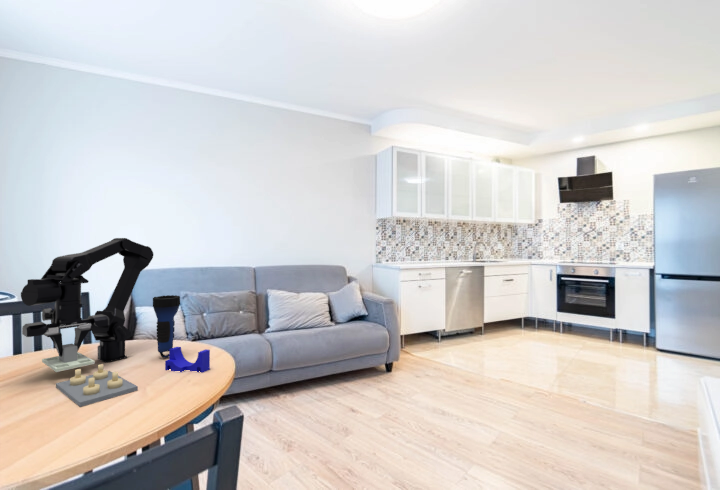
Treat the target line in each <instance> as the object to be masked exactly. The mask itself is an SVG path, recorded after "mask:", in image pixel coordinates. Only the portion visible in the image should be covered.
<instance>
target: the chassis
mask: <svg viewBox="0 0 720 490" xmlns="http://www.w3.org/2000/svg"><path fill="white" fill-rule="evenodd" d="M55 388H56V389H58V390H59V391H60V392H61V393H63V395H64V396H66V397H67V398H69V399H70V400H71V401H72V402H74V404H76V405H77V406H79V408H82V407H84V406H89V405H92V404H94V403H95V404H96V403H99V402H102V401H105V400H108V399H113V398H115V397H116V398H117V397H120V396H124V395H125V394H126V395H127V394H130V393H134V392H137V391H138V390H139V389H138V388H139V386H138V385H136V384H135V383H132V382H130V381H128V379H125V378H123V377H121V376H119V372H118V371H114V372H112V371H111V370H106V369H104V363H101V364H98V365H97V371H94V372H93V373H92V374H91V375H90V374H89V375H83V374H82V369H81V368H77V369H75V370H74V376H72V377H70V378H69V380H65V381H60V382H56V383H55Z"/></svg>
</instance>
